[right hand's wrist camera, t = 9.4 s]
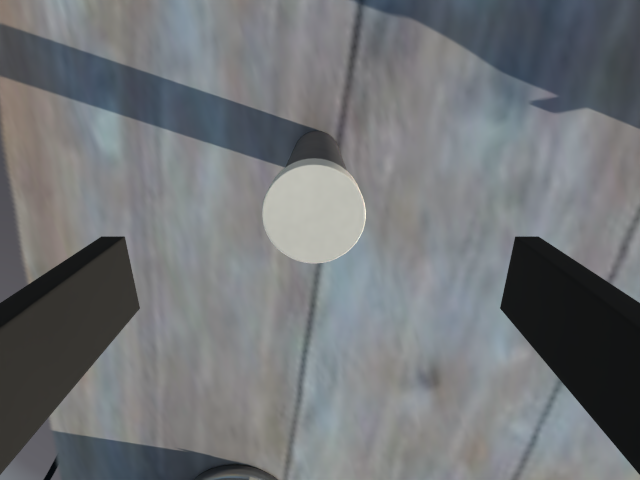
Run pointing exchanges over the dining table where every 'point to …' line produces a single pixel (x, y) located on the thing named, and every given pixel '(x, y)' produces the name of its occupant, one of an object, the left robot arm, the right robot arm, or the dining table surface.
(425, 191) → the dining table surface
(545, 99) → the dining table surface
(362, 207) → the cream round lid
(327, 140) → the dark grey cylinder
